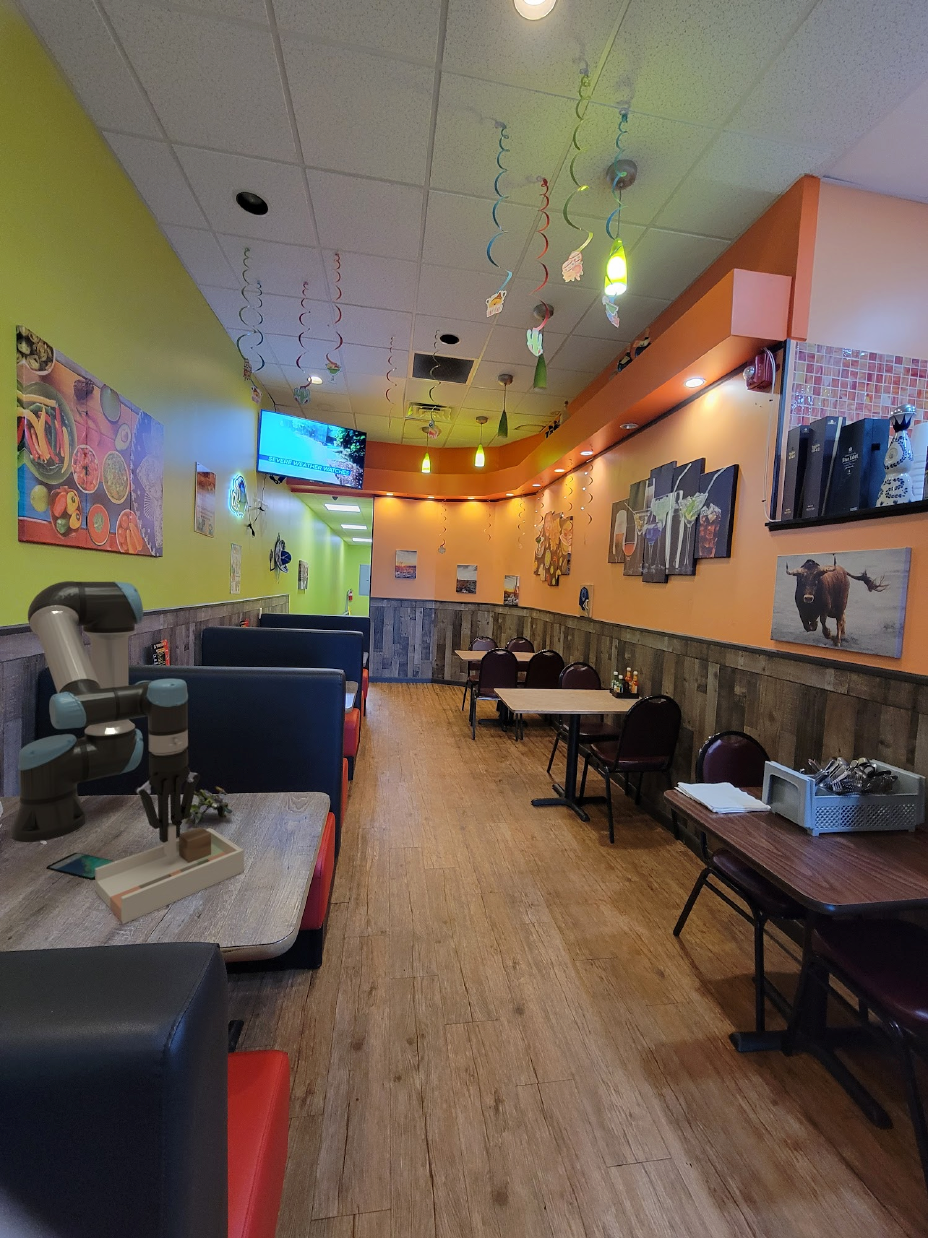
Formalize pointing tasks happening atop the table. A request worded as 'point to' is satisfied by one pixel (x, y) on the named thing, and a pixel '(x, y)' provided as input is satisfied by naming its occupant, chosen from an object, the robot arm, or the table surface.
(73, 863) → the smartphone
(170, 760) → the robot arm
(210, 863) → the tray
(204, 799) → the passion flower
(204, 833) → the walnut block
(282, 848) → the table surface
